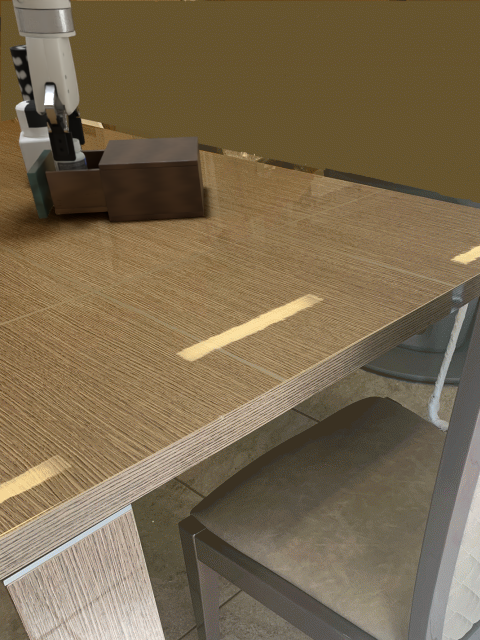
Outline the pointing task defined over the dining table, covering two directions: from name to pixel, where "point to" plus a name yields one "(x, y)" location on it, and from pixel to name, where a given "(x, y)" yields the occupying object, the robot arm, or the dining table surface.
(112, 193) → the cabinet
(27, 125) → the container
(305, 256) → the dining table surface
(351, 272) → the dining table surface
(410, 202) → the dining table surface
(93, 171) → the drawer
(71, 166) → the pill bottle
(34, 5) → the robot arm
